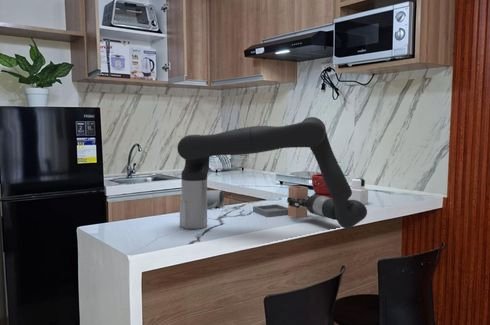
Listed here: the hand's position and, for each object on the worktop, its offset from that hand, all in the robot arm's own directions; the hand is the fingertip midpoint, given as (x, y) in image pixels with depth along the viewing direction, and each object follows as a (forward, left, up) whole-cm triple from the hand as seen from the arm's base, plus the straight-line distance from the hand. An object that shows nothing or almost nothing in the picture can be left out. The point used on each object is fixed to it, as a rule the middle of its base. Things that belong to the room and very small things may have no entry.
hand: (296, 199), depth 174 cm
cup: (0, -1, -7) cm, 7 cm away
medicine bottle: (+42, +10, -7) cm, 44 cm away
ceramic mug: (-23, +32, -7) cm, 40 cm away
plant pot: (+38, +30, -7) cm, 49 cm away
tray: (-6, +9, -7) cm, 13 cm away
